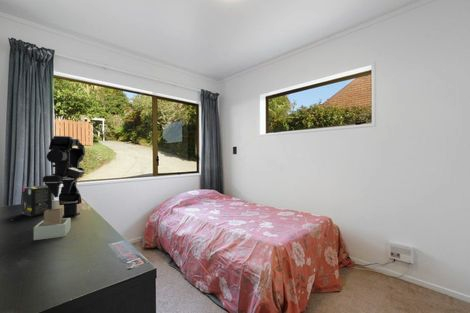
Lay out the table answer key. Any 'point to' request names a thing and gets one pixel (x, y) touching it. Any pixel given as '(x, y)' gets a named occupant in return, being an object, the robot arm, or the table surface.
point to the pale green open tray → (52, 230)
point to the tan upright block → (53, 217)
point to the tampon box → (36, 200)
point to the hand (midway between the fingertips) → (62, 195)
